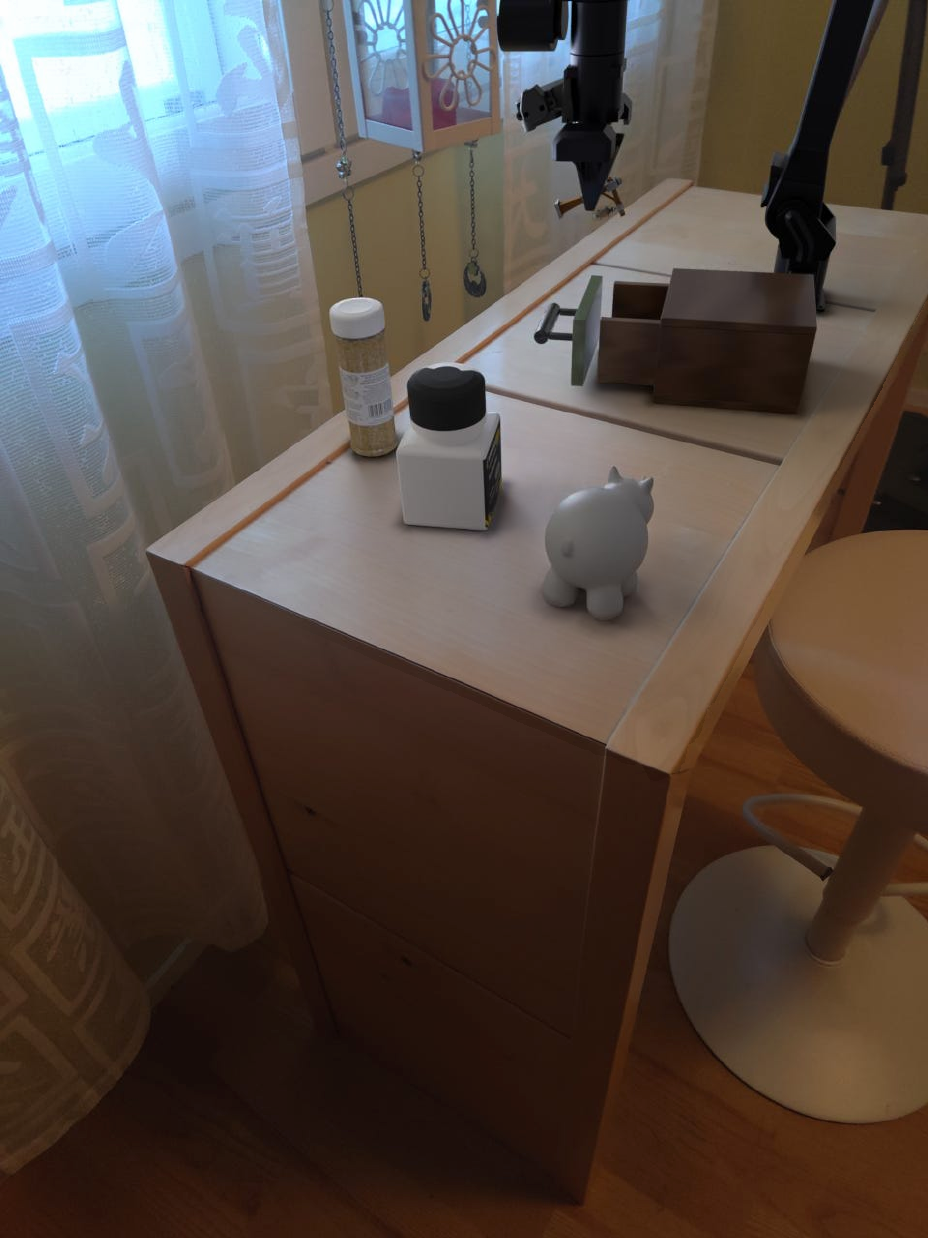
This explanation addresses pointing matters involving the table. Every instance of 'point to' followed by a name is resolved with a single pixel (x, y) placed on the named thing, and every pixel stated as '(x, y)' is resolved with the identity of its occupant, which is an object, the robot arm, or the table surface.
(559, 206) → the wooden post with brackets
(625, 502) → the chubby cartoon animal
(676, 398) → the cabinet
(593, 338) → the drawer
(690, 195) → the table surface
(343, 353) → the sprinkles bottle
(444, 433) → the medicine bottle
